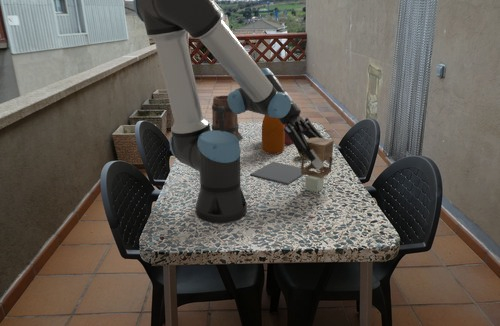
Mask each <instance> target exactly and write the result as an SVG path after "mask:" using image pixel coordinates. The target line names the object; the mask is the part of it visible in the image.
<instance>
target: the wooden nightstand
mask: <svg viewBox="0 0 500 326" xmlns="http://www.w3.org/2000/svg"><path fill="white" fill-rule="evenodd" d="M323 138H324V137H323ZM323 138H318V137H311V138H309V139H308V138H306V141H307V143H308V145H309V147H310V150H311V149H313V150H314V152H315V153H316V155H317V156H318V157H319V159H320V160H321V161H322V163H323V164H324V163H325V162H326V160H327V159H329V158H330V161H329V164H328V166H323V167H322V168H321V169H319V170H318V171H319V172H318V171H314V170H317V169H316V168H315V166H314V165H313V164H312V162H311V161H310V163H309V164H308V165H306V166H305V159H306V160H307V159H308V160H309V158H308V157H307V155H306V154H304V155H302V156H301V164H300V165H301V167H300V168H301V174H304V175H306V176H308V175H309V176H314V177H318V178H323V177H324V178H325V177H326V176H327V175H328V174H330V173H331V172H332V164H333V161H332V156H333V151H334V139H330V138H329V139H328V138H324V139H323ZM312 169H314V170H312Z"/></svg>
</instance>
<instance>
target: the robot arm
mask: <svg viewBox="0 0 500 326" xmlns="http://www.w3.org/2000/svg"><path fill="white" fill-rule="evenodd" d="M132 2H133V3H132V4H133V10H134V13H135V14H136V16H137V17H138V19H139V20H140V21H141V22H143V24H144V27H145V31H146V34H147V35H146V36H147V37H148V38H150V39H151V40H153V41H154V44H155V47H156V51H157V52H156V53H157V56H158V60H159V64H160V68H161V73H162V76H163V80H164V85H165V88H166V92H167V93H166V94H167V96H168V100H169V101H168V102H169V105H170V110H171V112H172V113H171V115H172V116H173V121H174V123H173V125H172V126H171V128H170V130H171V137H170V138H169V148H170V152H171V154H172V155H173V156H174V158H175V159H177V160H178V161H179V162H180V164H181V163H182V164H184V165H185V166H188V167H190V168H191V169H193V170H195V171H197V172H198V173H199V182H200V183H199V184H200V187H199V188H200V189H199V192H198V196H197V199H196V203H195V215H196V216H197V218H199V220H202V221H204V222H208V223H212V224H225V223H231V222H235V221H238V220H240V219H243V217H245V216H246V214H247V212H248V209H247V208H248V205H247V201H246V198H245V195H244V193H243V189H242V187H241V146H240V141H239V140H238V138H237V137H236V136H235V135H233V134H231V133H229V132H225V131H224V132H221V131H216V130H215V131H212V128H211V126H210V121H209V120H208V118H206V117H204V116H203V112H202V106H201V102H200V98H199V93H198V92H199V91H198V89H197V88H198V87H197V83H196V77H195V73H194V70H193V65H192V58H191V54H190V50H189V45H188V39H187V34H189V35H190V37H192V38H193V39H194V40H200V42H201V43H202V44H203V45H204V46H205V47H206V49H207V50H208V51H209V52H210V53H211V54H212V56H213V57H214V58H215V60H217V61H218V63H219V64H220V65H221V66H222V67H223V68H224V69H225V71H226V72H227V73H228V74H229V75H230V77H232V79H233V80H234V81H235V83H236V84H237V85H238V86H239V87H238V88H236V89H235V90H233V91H231V92H229V94H228V95H227V96H228V97H227V101H228V105H229V107H230V109H231V110H232V111H233V112H234V113H235V114H237V115H241V114H242V113H245V112H247V111H249V112H252V113H257V114H261V115H264V116H265V115H267V116H270V117H272V118H273V117H275V118H278V119H279V120H280V122H281V123H282V124H283V125H285V124H287V126H286V127H285V128H284V131H285V132H286V133H287V134H288V136H289V137H290V139H291V140H292V142H293V143H292V144H293V145H294V147H295V149H296V150H297V153H298V152H299V153H300V154H302V155H304V154H306V155H307V157H308V158H309V159H308V160H309V161H310V163H311V162H312V164H313V165H314V166H315V168H316V169H315V170H317V171H320V170H319V169H321V168H322V167H323V166H325V164H324V162H323V163H322V161H321V160H320V159H319V157H318V156H317V155H316V153H315V152H314V150H313V149H311V150H310V147H309V145H308V143H307V141H306V140H307V139H309V138H311V137H318V138H323V139H325V138H324V136H323V135H322V134H321V133H320V132H319V131H318V129H317V128H316V127H315V126H314V125H313V123H311V120H310V119H309V117H306V118H305V119H303V117H302V116H301V115H300V114H301V113H302V110H301V108H300V107H299V106H298V105H297V103H295V101H294V99H293V98H292V97H291V95H290V94H289V93H288V92H287V90H286V89H285V87H284V86H283V85H282V84H281V82H280V81H279V79H278V78H277V76H276V75H275V74H274V73H273V71H271V70H270V69H269V68H267V67H263V68H260V67H259V66H258V64H257V63H256V61H255V60H254V59H253V58H252V56H251V55H250V54H249V53H248V51H247V50H246V48H245V47H244V46H243V44H242V43H240V41H239V39H238V38H237V37H236V36H235V34H234V33H233V32H232V30H231V29H230V28H229V27H228V25H227V24H226V23H225V21H224V20H223V18H222V17H223V12H222V10H221V9H220V8H219V7H218V5H217V4H216V3H215V2H214V1H213V0H132ZM300 148H301V149H300ZM299 153H298V154H299ZM334 160H336V159H335V157H334V156H333V155H332V162H333V161H334ZM329 161H330V158H329V159H327V160H325V162H326V164H328V165H329Z"/></svg>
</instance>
